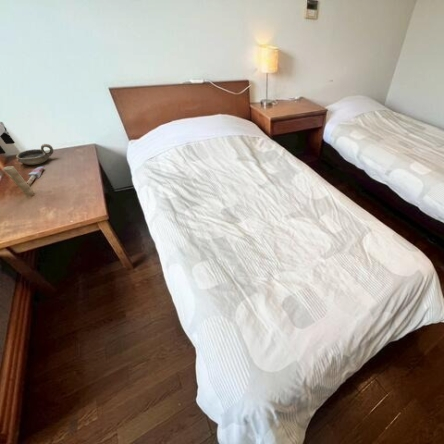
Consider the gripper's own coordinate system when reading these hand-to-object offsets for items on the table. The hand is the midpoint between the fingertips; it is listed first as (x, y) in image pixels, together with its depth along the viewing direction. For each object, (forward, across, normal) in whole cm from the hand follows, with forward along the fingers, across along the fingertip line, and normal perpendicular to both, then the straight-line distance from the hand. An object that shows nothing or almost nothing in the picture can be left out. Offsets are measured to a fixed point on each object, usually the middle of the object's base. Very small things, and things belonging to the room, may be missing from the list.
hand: (5, 148), depth 110 cm
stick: (+27, -2, -6) cm, 27 cm away
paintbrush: (+27, -19, -8) cm, 34 cm away
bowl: (+27, -38, -11) cm, 48 cm away
